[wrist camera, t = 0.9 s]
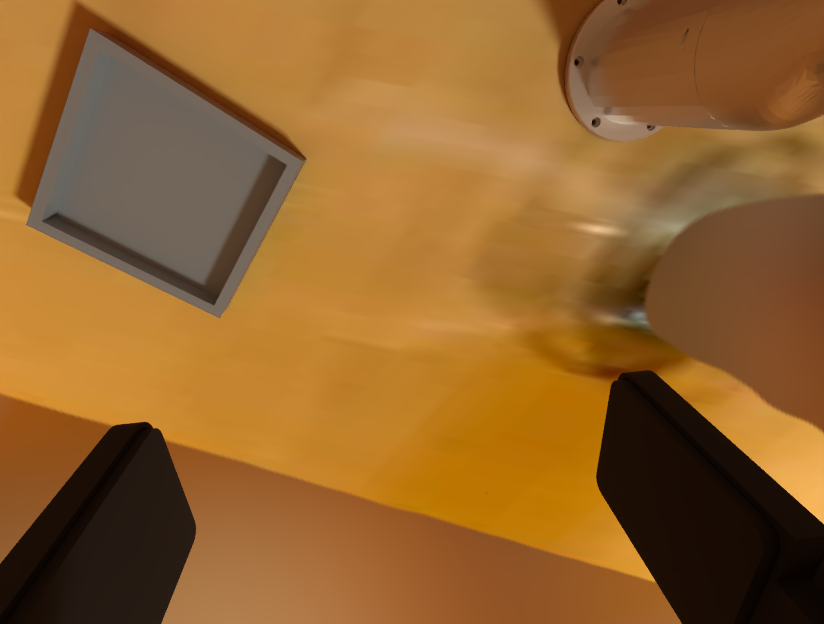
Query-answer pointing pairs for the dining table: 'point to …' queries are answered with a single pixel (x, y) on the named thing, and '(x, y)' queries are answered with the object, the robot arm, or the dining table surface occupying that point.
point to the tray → (159, 177)
